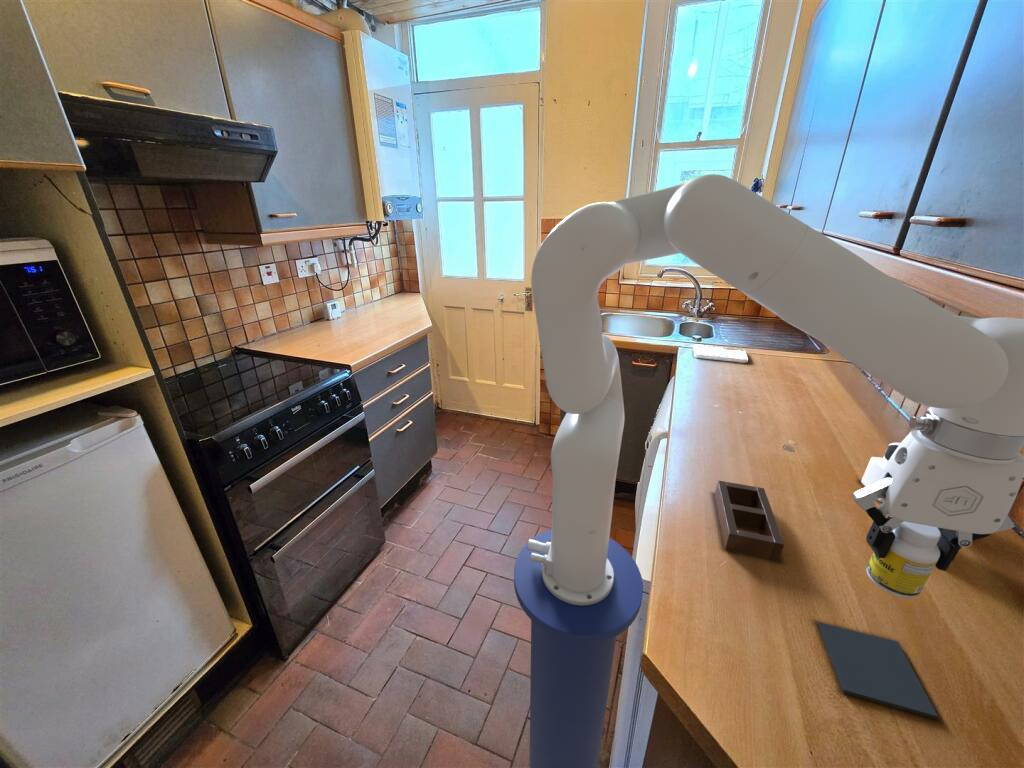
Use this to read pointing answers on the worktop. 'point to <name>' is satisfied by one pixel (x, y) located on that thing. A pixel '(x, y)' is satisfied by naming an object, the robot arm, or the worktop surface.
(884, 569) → the supplement bottle
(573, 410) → the robot arm
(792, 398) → the worktop surface
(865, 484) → the medicine bottle
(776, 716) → the worktop surface
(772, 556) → the rack
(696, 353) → the white flat block
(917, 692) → the mat
